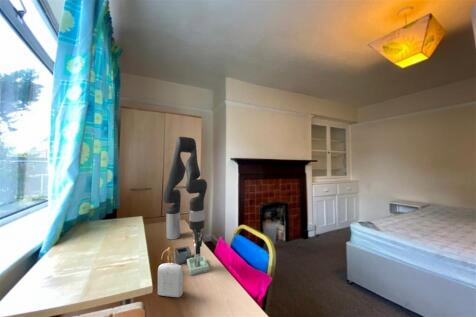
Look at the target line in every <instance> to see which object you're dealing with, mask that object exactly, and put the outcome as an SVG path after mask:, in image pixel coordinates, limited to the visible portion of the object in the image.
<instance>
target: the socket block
mask: <svg viewBox="0 0 476 317" xmlns="http://www.w3.org/2000/svg"><path fill="white" fill-rule="evenodd" d="M173 249H176V250H177V252H178V253H179V256H178V253H177V252H176V250H173V259H174V264H178V265H181V264H185V263H186V264H187V259H189V258H192V250H191V249H190V246H189V245H186V246H181V247H176V248H174V247H173Z"/></svg>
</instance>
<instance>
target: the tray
mask: <svg viewBox="0 0 476 317" xmlns="http://www.w3.org/2000/svg"><path fill="white" fill-rule="evenodd" d="M186 265H187V268H188V272H189V275H190V276H193V275H197V274H198V275H199V274H201V273H205V272H209V271H210V264H209V263H208V261H207V259H206V257H205V255H200V266H199V267H195V266H194V257H191V258H189V259H187V262H186Z"/></svg>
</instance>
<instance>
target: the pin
mask: <svg viewBox="0 0 476 317" xmlns="http://www.w3.org/2000/svg"><path fill="white" fill-rule="evenodd" d="M192 243H193V256H194V257H193V258H194V266H195V267H199V266H200V256H201V253H200V254H197V255H196V247H195V242H194V239H193V238H192Z"/></svg>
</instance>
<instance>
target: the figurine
mask: <svg viewBox="0 0 476 317" xmlns="http://www.w3.org/2000/svg"><path fill="white" fill-rule="evenodd" d="M174 250H176V249H174V247H170V246H168V247H167V249H165V250H164V251H163V252H162V254H161V257H160V259H161V260H163V256H164V254H165V253H166V252H167V257H166V258H167V263H173V261H174V253H172V252H173V251H174ZM176 252H177V250H176ZM177 253H178V252H177ZM178 256H179V253H178ZM170 259H171V261H170Z"/></svg>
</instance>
